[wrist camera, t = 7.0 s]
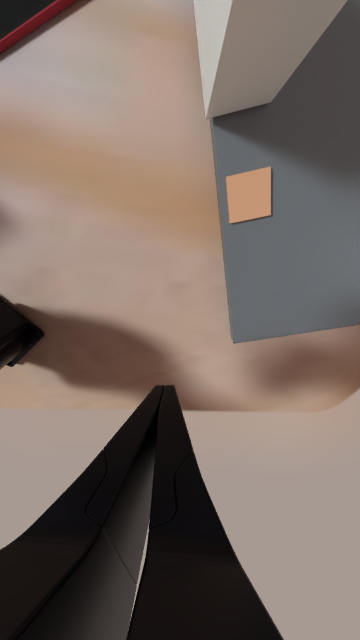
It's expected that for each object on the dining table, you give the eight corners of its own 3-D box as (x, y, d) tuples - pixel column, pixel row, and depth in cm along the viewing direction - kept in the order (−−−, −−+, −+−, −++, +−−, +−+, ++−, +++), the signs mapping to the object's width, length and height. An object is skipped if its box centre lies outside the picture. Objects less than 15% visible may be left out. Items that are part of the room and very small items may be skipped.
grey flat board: (231, 337, 22) (234, 345, 20) (195, -31, 11) (197, -65, 10) (363, 316, 20) (375, 323, 19) (457, -119, 10) (500, -171, 9)
